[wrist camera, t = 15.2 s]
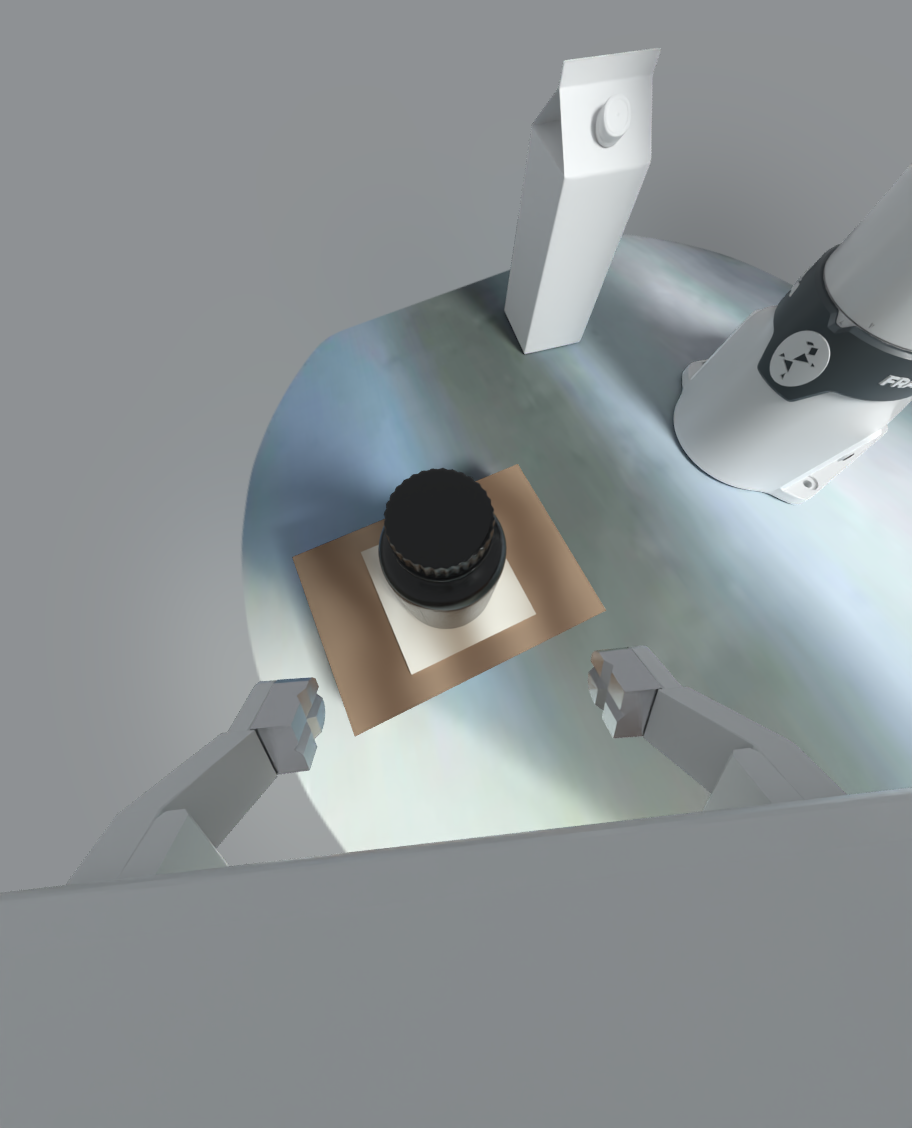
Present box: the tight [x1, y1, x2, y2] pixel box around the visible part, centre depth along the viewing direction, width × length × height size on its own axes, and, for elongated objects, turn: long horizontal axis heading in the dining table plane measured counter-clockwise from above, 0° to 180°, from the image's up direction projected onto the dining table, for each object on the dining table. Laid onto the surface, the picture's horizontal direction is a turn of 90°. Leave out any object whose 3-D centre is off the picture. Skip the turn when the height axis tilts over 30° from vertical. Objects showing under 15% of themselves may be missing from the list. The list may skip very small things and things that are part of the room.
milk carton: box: [504, 48, 661, 354], centre depth 32 cm, size 7×7×19 cm
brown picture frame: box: [292, 464, 606, 736], centre depth 28 cm, size 20×14×5 cm
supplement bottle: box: [378, 468, 507, 629], centre depth 20 cm, size 7×7×12 cm
